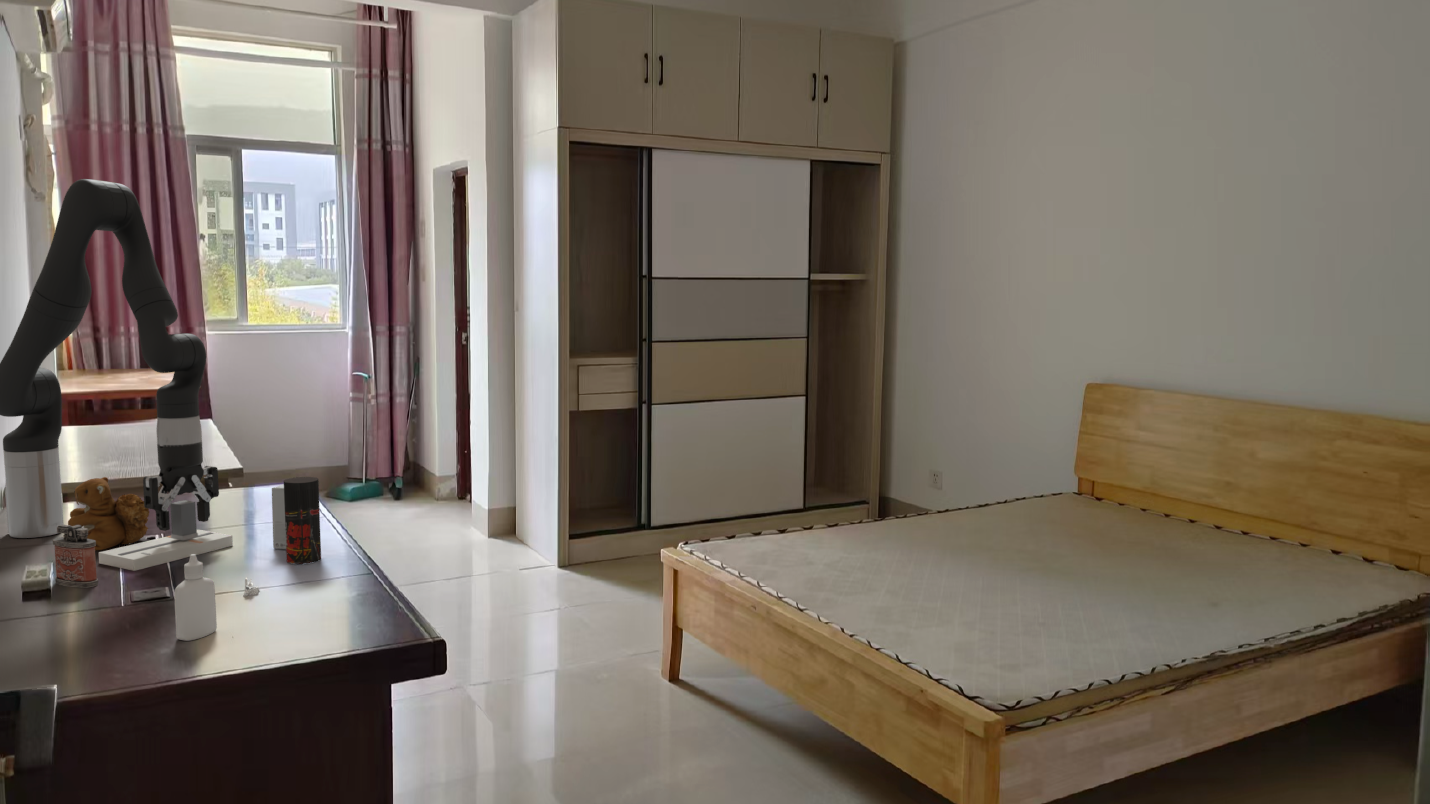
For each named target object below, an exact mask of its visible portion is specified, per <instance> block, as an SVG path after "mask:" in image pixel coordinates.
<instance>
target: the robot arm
mask: <svg viewBox="0 0 1430 804" xmlns="http://www.w3.org/2000/svg"><path fill="white" fill-rule="evenodd" d="M95 231H104V232H112V233H113V234H114V236H115V238H116V239H117V240H118V242H119V244H120V246H121V248H122V251H123V259H124V260H123V269H122V276H121V284H122V286H121V287H122V291H123V295H124V297H125V299H126V301H127V304H128V306H129V309H130V310H131V311H132V314H133V316H134V318H135V320H136V323H137V329H138V335H139V342H140V351H141V354H142V358H143V360H144V361H145V363H146V365H147V366H148V367H149V368H150V369H151V370H153V371H155V372H156V373H161V374H167V373H173V375H172V376H173V377H172V378H171V381H170V382H169V383H167V384H164V385H162V386H161V387H159V388H157V391H156V395H155V396H156V397H155V399H156V401H155V402H156V414H157V415H156V419H157V420H156V443H157V444H156V445H157V446H156V447H157V463H158V466H159V469H160V471H159V474H158V475H156V476H144V477H143V479H142V483H143V484H142V486H143V487H142V488H143V501H144V507H145V508H148V509H149V510H154V511H155V521H156V522H155V523H156V527H157V528H158V529H159V531H164V532H166V531H170V530H171V529H170V528H171V525H170V524H171V522H170V511H169V510H168V509H169V507H170V503H173V501H175V499H176V497H177V496H180V495H183V494H186V493H188V494H190V493H191V494H192V495H193V496H194V497H195V498H196V500H197V501H196V510H197V511H196V512H197V513H196V516H197V520H198V522H202V523H206V522H209V519H210V516H211V510H210V509H211V508H210V506H211V505H210V503H211V500H212V499H214V498H218V497H219V495H220V489H219V488H220V487H219V472H218V471H219V469H218V467H217V466H211V465H204V467H203V466H202V464H203V463H204V455H203V433H202V422H201V419H200V418H201V417H200V408H199V407H200V405H199V394H200V393H199V392H200V388H201V385H202V380H203V377H204V371H205V368H206V363H207V351H206V348H205V345H204V342H203V341H202V339H200V337H199V336H197V335H195V334H193V333H171V334H169V332H168V331H167V327H169V326H172V325H173V324H174V323H176V321H177V319H178V317H179V313H178V312H179V311H178V310H177V307H176V305H175V303H174V300H173V298H172V296H171V293H170V292H169V290H168V288H167V286H166V284H165V282H164V280H163V278H162V276H161V274H160V270H159V267H158V265H157V262H156V259H155V256H154V253H153V249H152V244H151V241H150V238H149V233H148V230H147V228H146V223H145V220H144V217H143V213H142V210H141V206H140V204H139V201H138V199H137V197H136V195H135V193H134V192H133V191H132V189H131V188H130V187H128V186H126V185H124V184H122V183H119V182H118V183H117V182H112V181H106V180H98V179H88V178H83V179H82V178H81V179H78V180H76V181H74V182H73V183H71V185H70V186H69V188H68V189H67V191H66V193H65V195H64V197H63V201H62V204H61V207H60V212H59V215H58V218H57V223H56V226H55V229H54V234H53V236H52V237H53V238H52V241H51V244H50V247H49V250H48V251H47V256H46V258H45V261H44V264H43V266H42V268H41V271H40V273H39V276H38V278H37V280H36V282H35V284H34V286H33V289H32V292H31V294H30V297H29V300H28V302H27V305H26V308H25V310H24V313H23V316H22V318H21V320H20V322H19V325H18V327H17V329H16V330H15V331H16V332H15V334H14V336H13V338H12V341H11V343H10V344H9V346H8V349H7V350H6V352H5V354H4V356H3V357H2V359H1V360H0V416H2V417H8V418H12V417H13V418H15V417H22V420H21V422H20V423H19V425H18V426H17V427H16V428H15V429H14V430H12V431H11V432H9V433H7V434H5V435H4V437H3V438H2V450H3V461H4V462H3V464H4V475H5V476H4V477H5V478H4V479H5V487H4V493H5V495H4V496H5V509H6V510H5V511H6V523H7V524H6V525H7V533H8V534H9V535H8V536H9V537H10V538H16V539H17V538H18V539H27V538H28V539H30V538H32V539H33V538H41V537H49V536H52V535H56V534H58V533H57V527H58V525H65V524H64V510H63V496H62V495H63V494H62V478H61V466H60V465H61V463H60V462H61V461H60V448H59V439H60V436H61V434H62V428H63V427H62V423H63V421H62V420H63V419H62V416H63V415H62V411H63V408H62V407H63V406H62V402H63V401H62V388H61V385H60V382H59V379H58V378H57V376H56V374H55V372H54V371H52V370H50V369H49V368H46V367H40V366H41V365H42V363H43V362H44V361H45V359H46V358H47V357H48V356H49V355H50V354H51V353H52V352H53V351H54V350H56V348H57V347H58V346H60V345H61V344H62V343H63V342H64V341H65V340H66V339H67V338H69V336H71V334H73V332H75V331H76V329H77V328H78V327H79V325H80V324H81V322H82V320H83V318H84V316H85V313H86V310H87V308H88V306H89V304H90V300H91V299H92V298H91V297H92V283H91V280H90V279H91V278H90V275H89V272H88V269H87V265H86V253H87V249H88V246H89V243H90V241H91V239H92V237H93V234H94V233H95ZM202 478H204V484H203V483H202V482H201V480H202ZM160 484H161V485H162V486H161V485H160ZM160 486H161V488H160V490H159V487H160Z"/></svg>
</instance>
